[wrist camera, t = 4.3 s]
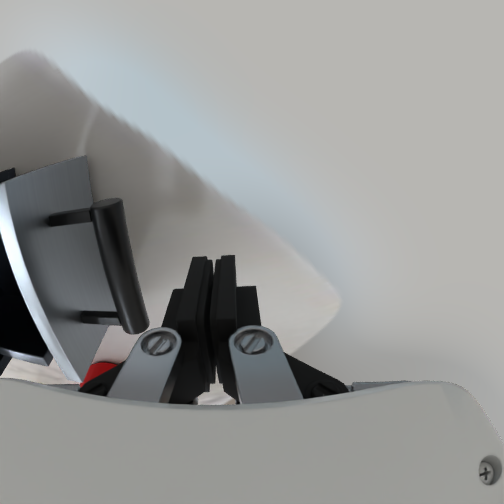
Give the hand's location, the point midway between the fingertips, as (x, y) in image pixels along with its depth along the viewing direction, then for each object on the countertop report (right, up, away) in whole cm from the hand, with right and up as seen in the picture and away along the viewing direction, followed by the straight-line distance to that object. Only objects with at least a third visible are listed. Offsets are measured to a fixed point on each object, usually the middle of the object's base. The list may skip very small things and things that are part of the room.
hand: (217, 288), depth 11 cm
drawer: (-13, +2, +5) cm, 15 cm away
